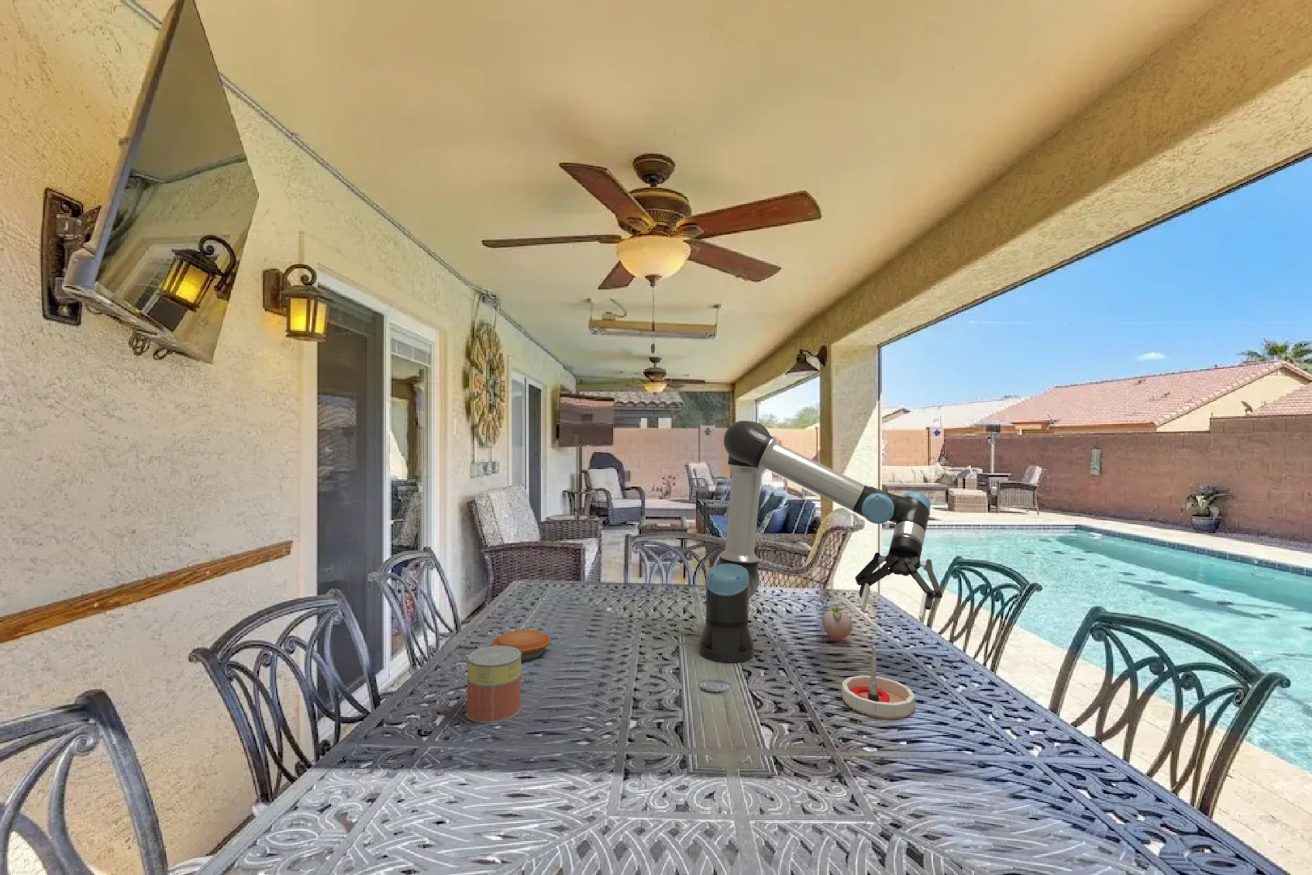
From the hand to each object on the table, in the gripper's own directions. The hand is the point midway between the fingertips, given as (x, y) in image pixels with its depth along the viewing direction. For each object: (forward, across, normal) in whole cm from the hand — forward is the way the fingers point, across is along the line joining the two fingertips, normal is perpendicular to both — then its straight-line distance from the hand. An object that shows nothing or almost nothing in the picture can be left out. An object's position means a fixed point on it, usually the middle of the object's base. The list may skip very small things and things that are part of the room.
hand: (890, 614), depth 139 cm
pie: (+42, +86, +16) cm, 96 cm away
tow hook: (+20, +2, -5) cm, 20 cm away
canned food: (+60, +65, +34) cm, 94 cm away
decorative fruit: (-4, +21, -29) cm, 36 cm away
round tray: (+20, 0, -5) cm, 21 cm away
